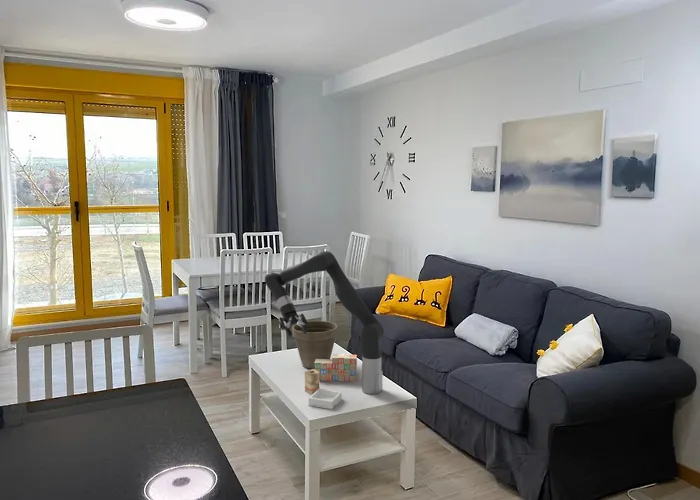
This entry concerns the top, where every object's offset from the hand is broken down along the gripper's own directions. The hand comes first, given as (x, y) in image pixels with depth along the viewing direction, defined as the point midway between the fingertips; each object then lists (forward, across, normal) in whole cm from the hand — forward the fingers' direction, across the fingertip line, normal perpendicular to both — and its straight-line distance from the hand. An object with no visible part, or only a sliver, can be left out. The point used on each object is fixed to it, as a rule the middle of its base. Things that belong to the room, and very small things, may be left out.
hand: (298, 334), depth 272 cm
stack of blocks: (+22, +20, +14) cm, 33 cm away
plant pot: (+6, +23, +31) cm, 39 cm away
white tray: (+36, -2, -1) cm, 36 cm away
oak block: (+27, 0, +9) cm, 28 cm away
